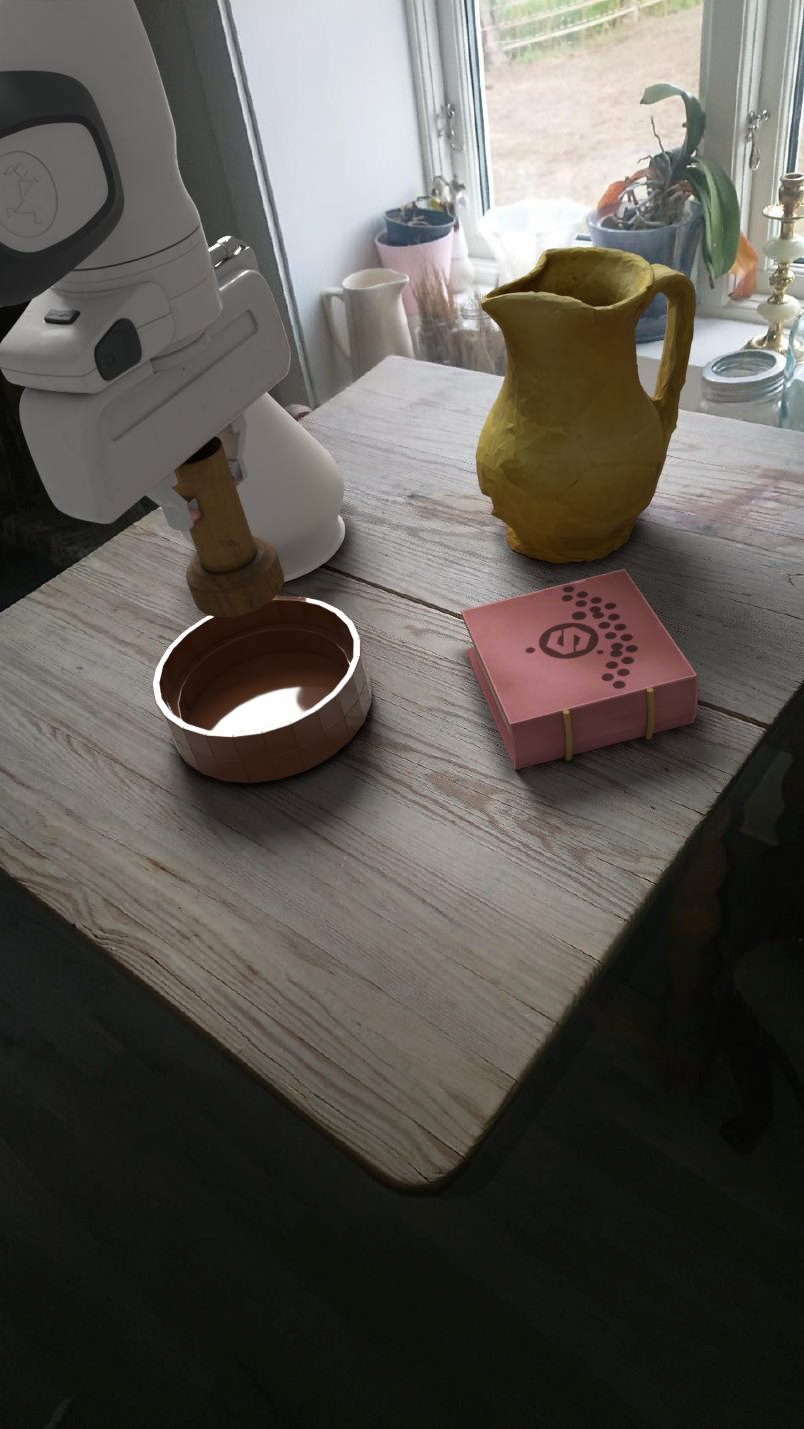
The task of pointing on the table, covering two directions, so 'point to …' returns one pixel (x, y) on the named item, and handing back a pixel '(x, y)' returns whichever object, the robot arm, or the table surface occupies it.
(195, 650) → the bowl
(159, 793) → the table surface
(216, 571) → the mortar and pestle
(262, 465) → the vase
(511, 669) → the book
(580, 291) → the pitcher
